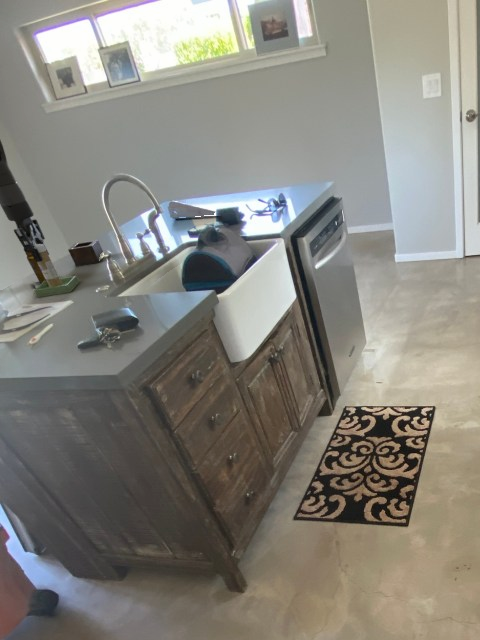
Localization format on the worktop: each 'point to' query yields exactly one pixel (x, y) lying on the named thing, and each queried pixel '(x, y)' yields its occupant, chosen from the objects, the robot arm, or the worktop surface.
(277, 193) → the worktop surface
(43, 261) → the sprinkles bottle
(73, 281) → the tray
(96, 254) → the brown wooden box
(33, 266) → the condiment
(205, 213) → the grey tapered wedge
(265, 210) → the worktop surface
